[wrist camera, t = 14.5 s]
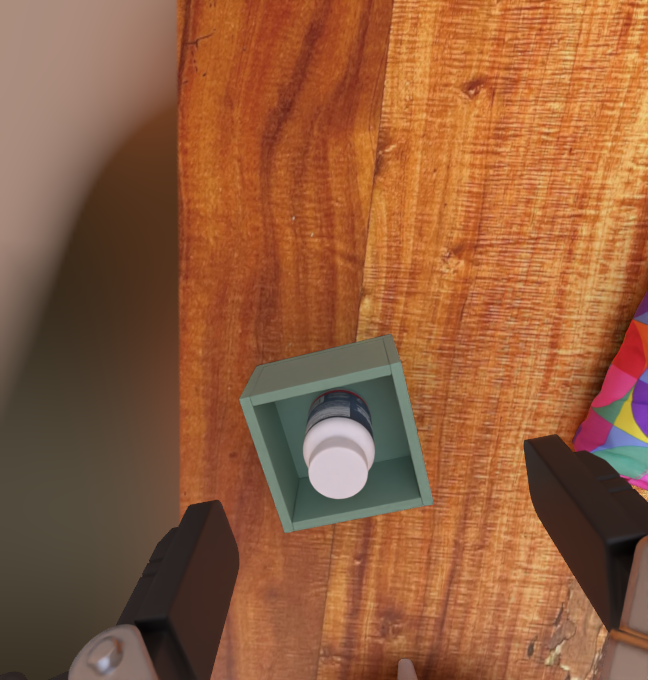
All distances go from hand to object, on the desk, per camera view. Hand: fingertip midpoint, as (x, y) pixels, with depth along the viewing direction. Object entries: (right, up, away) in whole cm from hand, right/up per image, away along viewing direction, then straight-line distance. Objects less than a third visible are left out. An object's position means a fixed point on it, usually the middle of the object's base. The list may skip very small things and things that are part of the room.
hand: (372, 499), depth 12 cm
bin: (0, -2, +28) cm, 28 cm away
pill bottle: (0, -2, +27) cm, 27 cm away
